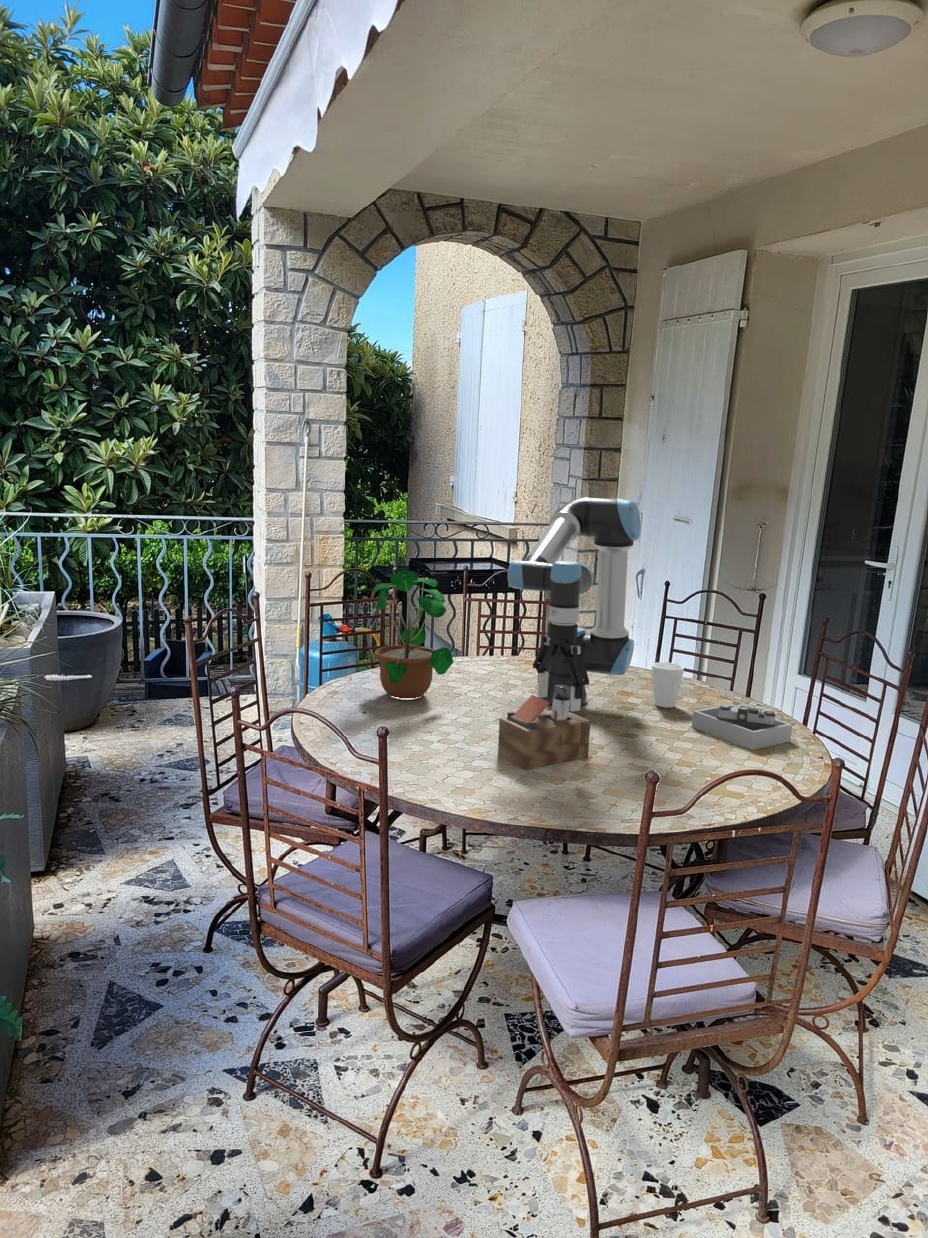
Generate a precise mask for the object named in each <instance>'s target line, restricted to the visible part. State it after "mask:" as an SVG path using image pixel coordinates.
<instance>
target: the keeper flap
mask: <svg viewBox="0 0 928 1238" xmlns="http://www.w3.org/2000/svg"><path fill="white" fill-rule="evenodd" d="M549 705H551V704H550V703H549V702H548V701H546V700H543V699H541V698H538V697H537V695H533V694H531V695H530V696H529V697H528V698H527V700H526V701H525V702H524V703H523V704H522V705H521V706H520V707H519V708H518V710H516V712H515V714H514V715H513V716H511V717H510V719H511V720H513V721H515V722H517V723H519V724H522V725H524V726H526V727H528V724H529V722H532V721H534V720H535V719H536V718H537V717H538V716H539V715H540V714H541V713H542V712H543V711H544V710H545V709H546V708H547V707H548V706H549Z"/></svg>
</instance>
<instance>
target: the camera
mask: <svg viewBox="0 0 928 1238" xmlns="http://www.w3.org/2000/svg"><path fill="white" fill-rule="evenodd" d="M727 705H728V704H721V705H720V707H719V706H718V707H719V711H718V715H717V719H718V720H722V721H727V722H730V723H732V724H735V725H738V726H741V727H744V728H747V729H749V730H752V731H755V730H760V729H765V728H770V727H775V719H776V712H774V711H771V710H765V711H763V710H762V709H758V708H756V707H751V706H749V705H748V704H746V703H745V704H744V703H739V704H738V705H734V706H735V707H732V708H730V707H729V706H727Z"/></svg>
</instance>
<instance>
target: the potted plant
mask: <svg viewBox="0 0 928 1238" xmlns="http://www.w3.org/2000/svg"><path fill="white" fill-rule="evenodd" d="M419 582H420V583H422V586H421V587H420V590H421V595H419V596H418V598H416V599H417V601H418V603H419V607H417V606H412V609H418V611H417V613H416V616H415V618H414V620H413V621H412V623H411V613H410V610H411V609H410V600H409V599H410V598H409V594H408V593H409V591H410V590H411V589H412V588H413V587H414V586H416V585H418V583H419ZM424 584H426V585H429V586H431V587H433V588H430V589H426V588H424V586H425V585H424ZM438 585H439V584H438V581H437V580H436V579H434V578H426V579H425V578H424V579H419V577H418V574H417V573H416V572H415V571H414V570H413V571H412V570H400V571H396V572H393V574H392V575H391V576H390V583H388V582H387V583H386V582H381V583H379V584H376V586H374V587H373V590H372V592H371V593H372V594H375V593H376V592H378V591H379V594H378V596H377V597H378V598H377V601H376V604H375V606H374V609H375V610H380V611H381V610H383V609H384V608H385V607H386V605H388V608H389V612H390V616H391V618H392V622H393V624H394V627H395V629H396V632H397V633H398V636H399V638H400V640H401V642H402V644H396V645H395V644H394V645H393V644H392V645H387V646H386V645H385V646H381V647H379V648H377V649H376V650H375V651H374V652H373V657H374V658H375V659H377V661H378V662H379V679H380V683H381V686H382V688H383V690H384V691H385V692H386V694H388V695H389V696H390V695H391V696H394V697H399V698H416V697H420V696H421V697H422V696H424V695H425V694H426V693H427V691H429V689H430V687H431V685H432V684H431V683H432V681H433V673H434V672H433V671H435V672H436V673H437V675H444V674H446V673H447V672H448V670H449V669H450V668H451V666H452V665H453V663H454V659H453V656H452V653H451V650H450V649H449V648H448V647H444V646H443V647H440V648H437V649H435V648H432V647H428V646H422V645H421V644H423V643H424V642H426V638H427V637H426V636H427V631H426V630H425V628H424V626H425V623H426V619H427V616H430V617H434V618H441V617H443V616H444V615H445V613H446V612H447V611H448V610H447V608H446V606H445V605H444V604H445V602H446V601H445V596H444V594H443V593H441V592H440V591H439V590H438V589H435V588H436V587H438ZM391 588H395V589H397V590H398V591H401V592H406V597H407V607H408V625H407V626H406V623H405V621H404V618H403V615H402V612H401V610H400V607H399V605H398V602H397V601H396V598H395V597H394V596H395V595H393V592H392V591H391ZM424 592H426V593H428V595H423V594H424ZM390 594H391V596H392V598H393V600H394V602H395V605H396V607H397V610H398V612H399V615H400V618H401V620H402V624H403V626H404V630H402V632H401V633H400V631H399V629H398V627H397V624H396V622H395V619H394V617H393V613H392V609H391V606H390V604H389V603H388V598H389V595H390ZM430 595H431V596H430ZM423 612H425V613H426V615H425V617H424V621H423V623H422V626H421V627H418V626H419V623H420V621H421V617H422V615H423ZM405 642H406V643H405Z"/></svg>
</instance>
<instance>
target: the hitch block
mask: <svg viewBox="0 0 928 1238" xmlns="http://www.w3.org/2000/svg"><path fill="white" fill-rule="evenodd" d="M551 711H552V709H550V710H545V711H544V710H543V712H542V713H541V714H540V715H539V716H538V717H537V718H536V719H535V720H534V721H532V722H529V724H528V727H526V726H524V725H522V724H519V723H517V722H515V721H513V720H511V719H510V717H511V716H513V715H514V714H515V713H516V712H514V711H508V712H507V716H504V717H499V725H498V745H497V756H498V757H500V758H501V759H504V760H506V761H508V762H509V763H511V764H513V765H515V766H517V767H519V768H521V769H522V770H523V771H529V770H534V769H538V768H544V767H549V766H553V765H554V766H555V765H559V764H564V763H565V764H566V763H568V762H569V763H570V762H575V761H580V760H585V759H589V750H590V749H589V746H590V732H591V720H590V719H587V718H585V717H582V716H581V715H579V714H578V715H577V714H576V713H572V711H569V713H568V720H565V721H559V722H554V721H552V720H550V719H551Z"/></svg>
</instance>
